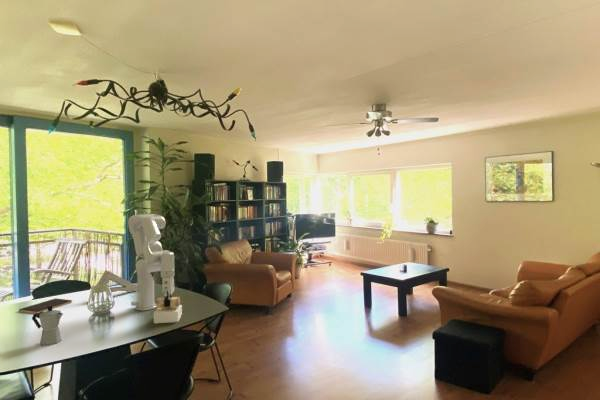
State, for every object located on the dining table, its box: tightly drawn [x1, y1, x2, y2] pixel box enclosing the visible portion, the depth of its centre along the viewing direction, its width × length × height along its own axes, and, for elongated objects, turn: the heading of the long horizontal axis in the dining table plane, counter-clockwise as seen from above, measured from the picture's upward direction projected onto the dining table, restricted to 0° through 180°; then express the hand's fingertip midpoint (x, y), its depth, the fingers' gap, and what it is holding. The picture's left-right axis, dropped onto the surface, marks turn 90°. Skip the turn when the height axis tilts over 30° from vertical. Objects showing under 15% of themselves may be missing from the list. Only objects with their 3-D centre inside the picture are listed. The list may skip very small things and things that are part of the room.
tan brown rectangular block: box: [155, 296, 181, 310], centre depth 202 cm, size 12×5×8 cm, turn 99°
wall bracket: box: [95, 270, 138, 294], centre depth 249 cm, size 22×4×30 cm
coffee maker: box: [31, 305, 64, 347], centre depth 171 cm, size 15×9×18 cm, turn 92°
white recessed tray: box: [153, 304, 183, 324], centre depth 202 cm, size 13×12×6 cm
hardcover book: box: [18, 298, 73, 315], centre depth 226 cm, size 16×23×2 cm
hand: (168, 304), depth 202 cm, fingers closed on tan brown rectangular block, 5 cm apart
